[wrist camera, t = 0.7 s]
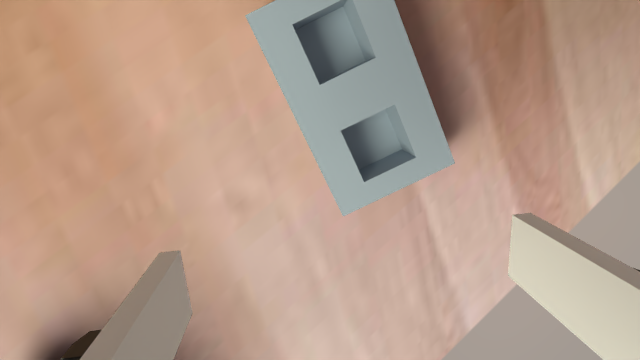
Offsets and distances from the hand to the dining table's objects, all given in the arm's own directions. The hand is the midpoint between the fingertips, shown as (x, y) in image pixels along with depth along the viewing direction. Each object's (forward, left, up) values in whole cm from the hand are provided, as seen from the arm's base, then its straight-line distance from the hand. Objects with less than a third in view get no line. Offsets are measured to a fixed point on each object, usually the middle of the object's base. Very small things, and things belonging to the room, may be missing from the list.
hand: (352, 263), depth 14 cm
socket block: (-4, +6, -27) cm, 27 cm away
